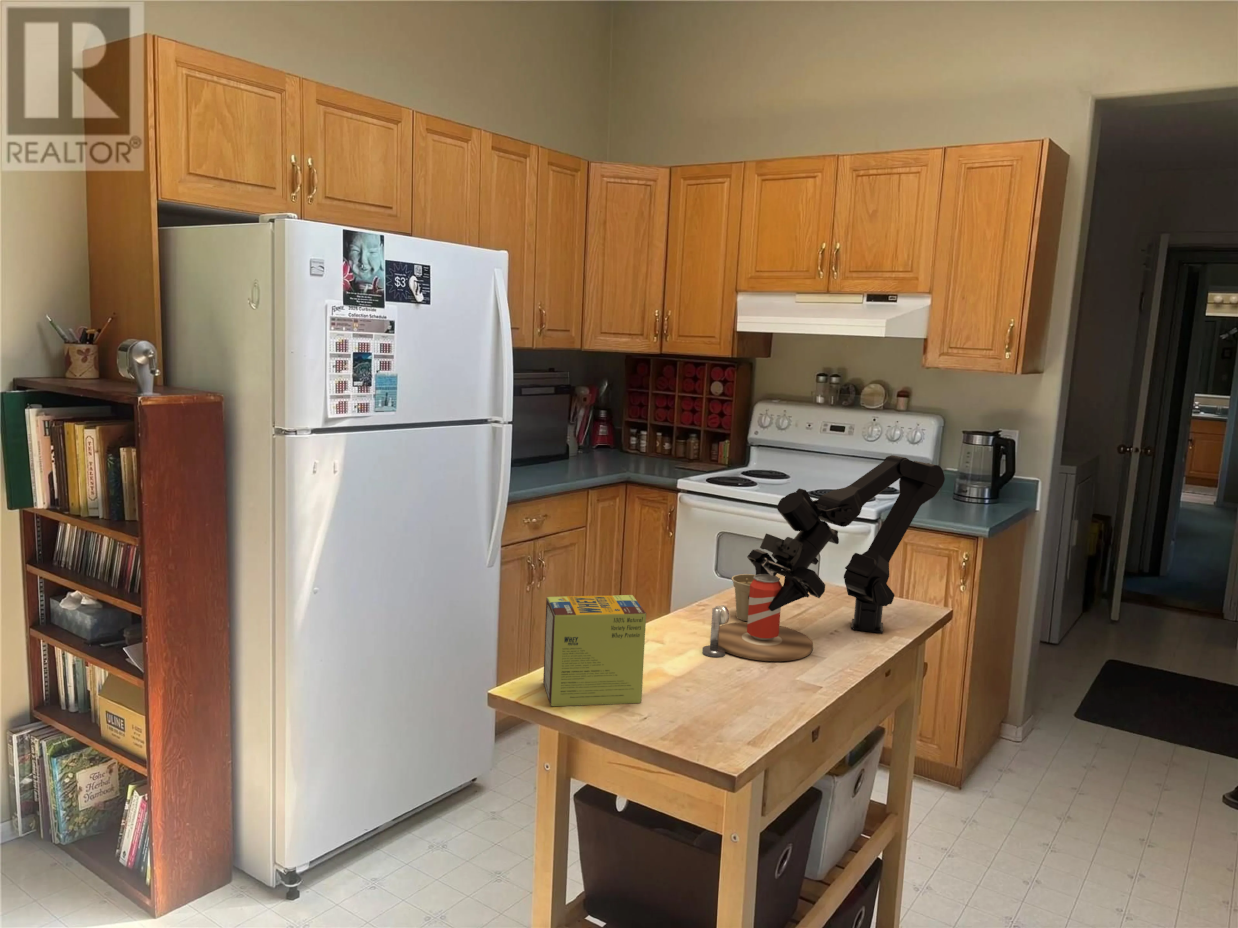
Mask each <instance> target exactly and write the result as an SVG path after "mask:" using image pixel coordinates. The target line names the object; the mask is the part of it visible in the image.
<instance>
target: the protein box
mask: <svg viewBox="0 0 1238 928" xmlns="http://www.w3.org/2000/svg"><path fill="white" fill-rule="evenodd" d="M545 606H546V607H545V630H544V651H543V652H544V655H543V656H544V657H543V658H544V659H543V660H544V661H543V682H542V683H543V685H544V689H545V692H546V696H547V699H548V702H549V706H550V707H570V706H596V705H597V706H598V705H599V706H601V705H623V704H625V705H626V704H627V705H628V704H640V703H641V704H642V699H643V696H642V695H643V684H644V683H643V681H644V680H643V679H644V663H645V662H644V660H645V659H644V658H645V644H646V643H645V642H646V641H645V640H646V625H647V612H646V611H645V609H643V607H642V606H641V605H640V604H639V602H638V600H637V599H636V597H635V596H634V595H633V594H624V595H623V594H621V595H620V594H619V595H577V596H576V595H574V596H573V595H572V596H571V595H568V596H567V595H565V596H563V595H562V596H547V597H546V603H545Z"/></svg>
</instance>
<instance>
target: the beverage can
mask: <svg viewBox="0 0 1238 928" xmlns="http://www.w3.org/2000/svg"><path fill="white" fill-rule="evenodd" d="M754 575H755V576H754V577H753V578H754V580H753V581H752V583H751V584H750V593H749V608H748V620H747V622H748V623H747V633H749V634H750V635H751V636H752V637H753V638H756V639H760V640H771V639H774V637H777V636H778V634H779V625H780V623H781V622H780V621H781V612H782V611H781V610H782V607H780V608H778V609H776V610H774V611H770V610H769V608H768V607H769V605H770V604H771V602H772V600H773V599H774V598H775V596H776V595H777V593H778V592H779V591H780V589H781V588H782V586H783V584H782V582H781V581H780V579H781V578H780V577H779V576H777V575H776V576H773V575H768V574H759V575H756V574H754ZM780 626H781V625H780Z"/></svg>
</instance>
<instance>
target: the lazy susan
mask: <svg viewBox="0 0 1238 928" xmlns="http://www.w3.org/2000/svg"><path fill="white" fill-rule="evenodd" d="M747 623H748V621H740V622H732V623H727V624H723V625H720V630H719V645H718V646H720V647H722V648H724V649H725V653H728V654H730V655H733V656H736V657H740V658H743V659H749V660H755V661H763V662H764V661H765V662H789V661H797V660H800V659H803V658H805V657H807V656H809V655H811V653H812V652H813V649H814V648H813V647H814V642H813V640H812V639H811V638H810V637H809V636H808V635H807V634H805V633H803V632H801V631H799V630H797V629H793V628H791V627H787V626H783V625H779V634H778V636H777V637H774V639H771V640H760V639H756V638H753V637H752V636H751V635H750V634H749V633H747Z"/></svg>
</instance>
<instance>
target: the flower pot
mask: <svg viewBox="0 0 1238 928" xmlns="http://www.w3.org/2000/svg"><path fill="white" fill-rule="evenodd" d="M755 575H756V574H753V573H752V574H749V573H742V574H735V575H732V577H731V581H732V582H733V583H732V584H733V587H734V596H735V597H734V598H735V613H736V616H735V617H736V618H737V619H739V620H741V621H742V622H748V608H749V599H748V596H749V593H750V584H751V583H752V581H753V580H754V578H753V577H754V576H755Z"/></svg>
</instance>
